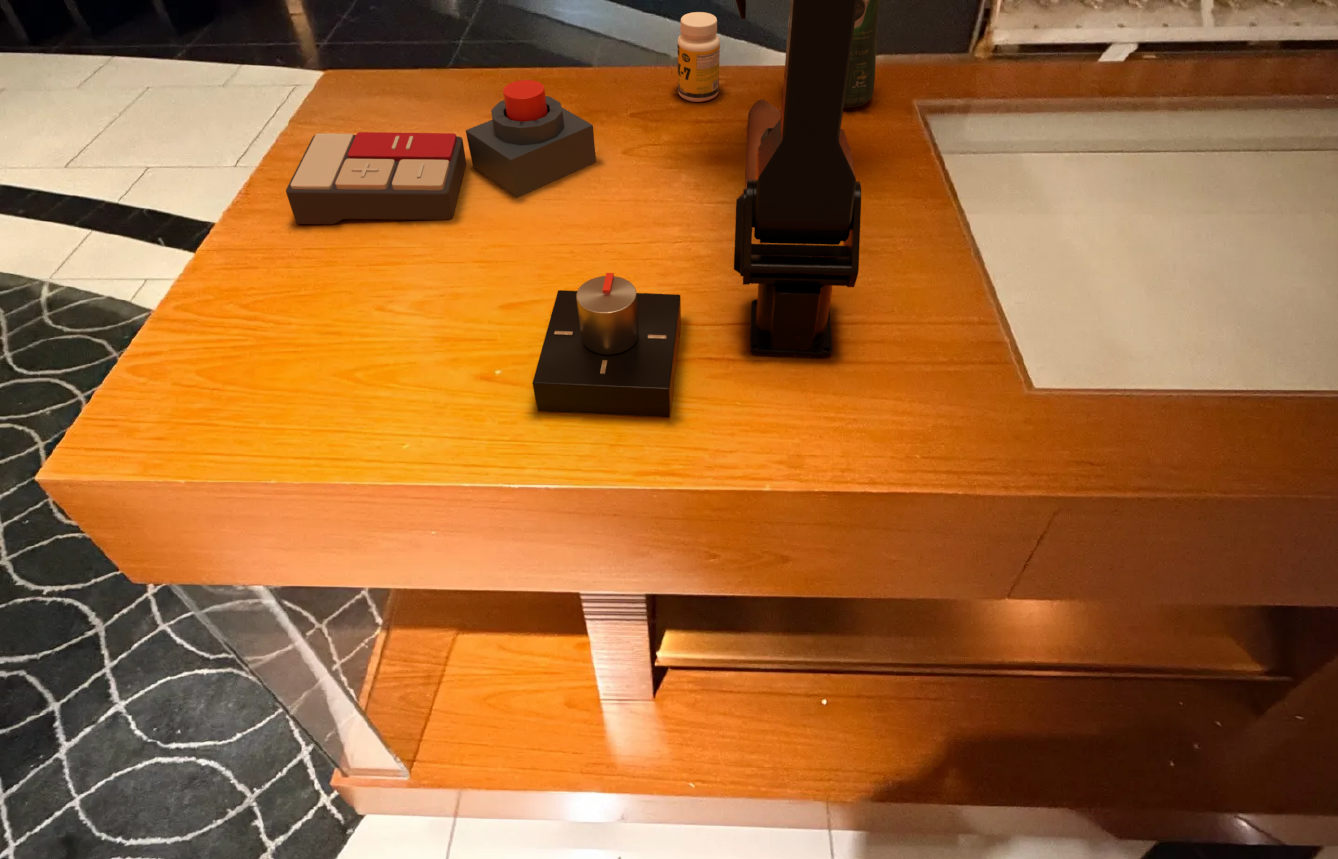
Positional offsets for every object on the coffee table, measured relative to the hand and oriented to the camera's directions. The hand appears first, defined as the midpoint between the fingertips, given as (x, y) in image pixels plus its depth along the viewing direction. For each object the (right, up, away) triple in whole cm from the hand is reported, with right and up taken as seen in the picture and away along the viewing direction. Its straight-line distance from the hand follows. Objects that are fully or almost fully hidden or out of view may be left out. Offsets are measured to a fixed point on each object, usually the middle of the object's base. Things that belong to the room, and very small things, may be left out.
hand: (793, 18), depth 78 cm
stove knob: (-16, -30, -13) cm, 37 cm away
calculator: (-40, -14, +8) cm, 43 cm away
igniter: (-25, -10, +11) cm, 29 cm away
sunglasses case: (+1, -12, +9) cm, 15 cm away
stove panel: (-16, -32, -10) cm, 38 cm away
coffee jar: (+7, +1, +20) cm, 22 cm away
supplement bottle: (-8, +1, +21) cm, 23 cm away
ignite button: (-25, -6, +7) cm, 27 cm away
